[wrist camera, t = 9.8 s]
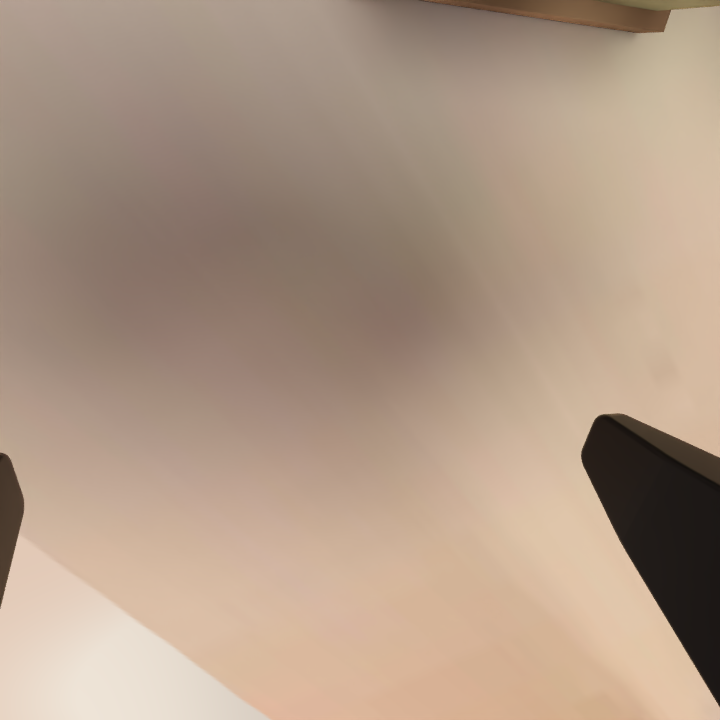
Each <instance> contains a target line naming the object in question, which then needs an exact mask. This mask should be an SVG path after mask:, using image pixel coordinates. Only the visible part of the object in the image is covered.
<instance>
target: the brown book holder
mask: <svg viewBox="0 0 720 720" xmlns="http://www.w3.org/2000/svg"><path fill="white" fill-rule="evenodd" d="M422 1H428V2H435V3H442V4H449V5H455V6H462V7H469V8H475V9H482V10H489V11H495V12H502V13H509V14H516V15H522V16H529V17H536V18H542V19H549V20H556V21H563V22H569V23H576V24H583V25H589V26H596V27H603V28H610V29H616V30H623V31H630V32H636V33H647V32H664V29H665V26H666V23H667V20H668V18H669V15H670V12H671V10H674V9H686V8H698V7H711V6H720V0H422Z"/></svg>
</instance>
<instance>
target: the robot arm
mask: <svg viewBox="0 0 720 720" xmlns="http://www.w3.org/2000/svg"><path fill="white" fill-rule="evenodd" d="M581 459H582V463H583V466H584V468H585V470H586V472H587V474H588V476H589V478H590V480H591V483H592V485H593V487H594V489H595V491H596V493H597V495H598V497H599V499H600V501H601V503H602V505H603V507H604V509H605V511H606V514H607V516H608V518H609V520H610V522H611V524H612V526H613V528H614V530H615V532H616V534H617V536H618V538H619V540H620V542H621V544H622V545H623V547H624V549H625V551H626V552H627V554H628V556H629V557H630V559H631V561H632V562H633V564H634V566H635V567H636V569H637V571H638V572H639V574H640V576H641V577H642V579H643V581H644V582H645V584H646V586H647V587H648V589H649V591H650V592H651V594H652V596H653V597H654V599H655V601H656V602H657V604H658V605H659V607H660V609H661V610H662V612H663V614H664V615H665V617H666V619H667V620H668V622H669V624H670V625H671V627H672V629H673V630H674V632H675V634H676V635H677V637H678V639H679V640H680V642H681V644H682V645H683V647H684V649H685V650H686V652H687V654H688V655H689V657H690V659H691V660H692V662H693V664H694V665H695V667H696V668H697V670H698V672H699V673H700V675H701V677H702V678H703V680H704V682H705V683H706V685H707V687H708V688H709V690H710V692H711V693H712V695H713V697H714V698H715V700H716V702H717V703H718V705H719V707H720V458H719V457H717V456H715V455H713V454H710V453H708V452H706V451H704V450H702V449H699V448H697V447H695V446H693V445H691V444H688V443H686V442H684V441H682V440H680V439H678V438H675V437H673V436H671V435H669V434H667V433H664V432H662V431H660V430H658V429H656V428H653V427H651V426H649V425H647V424H645V423H642V422H640V421H638V420H636V419H634V418H631V417H629V416H627V415H624V414H618V413H617V414H603V415H600V416H598V417H597V418H596V419H595V420H594V422H593V425H592V427H591V429H590V432H589V434H588V436H587V439H586V441H585V444H584V446H583V448H582V452H581ZM23 513H24V498H23V494H22V491H21V489H20V486H19V483H18V480H17V477H16V474H15V471H14V468H13V465H12V462H11V460H10V458H9V457H8V456H7V455H6V454H4V453H0V607H1V603H2V599H3V595H4V591H5V587H6V583H7V579H8V574H9V571H10V567H11V562H12V558H13V554H14V550H15V546H16V542H17V538H18V534H19V530H20V526H21V522H22V518H23Z"/></svg>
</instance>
